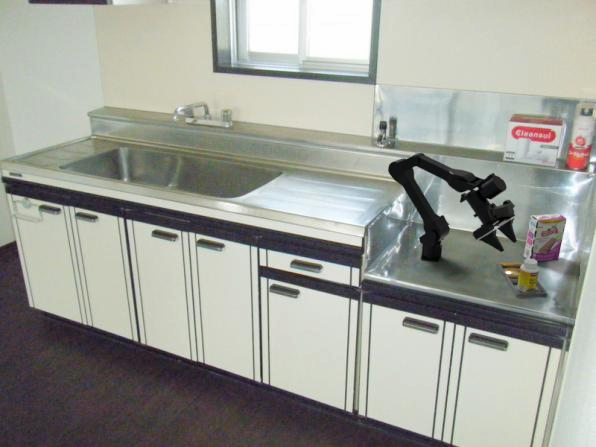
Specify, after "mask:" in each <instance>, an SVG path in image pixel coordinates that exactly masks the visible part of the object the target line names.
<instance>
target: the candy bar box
mask: <svg viewBox="0 0 596 447" xmlns="http://www.w3.org/2000/svg"><path fill="white" fill-rule="evenodd" d="M529 217H530V218H529V223H528V229H527V235H526V240H525V241H526V242H525V246H524V250H523V251H524V252H523V258H524V260H525V259H534V260H536V261H537V262H538V263H542V262H551V261H553V262H554V261H559V257H560V252H561V247H562V243H563V238H564V233H565V229H566V225H567V218H566V217H565V216H564V215H561V213H552V214H551V213H549V214H548V213H547V214H537V215H535V214H532V215H530V216H529Z"/></svg>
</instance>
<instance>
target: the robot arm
mask: <svg viewBox="0 0 596 447" xmlns="http://www.w3.org/2000/svg"><path fill="white" fill-rule="evenodd" d="M415 167H417V168H419V169H421V170H423V171H425V172H427V173H429V174H431V175H433V176H435V177H437V178H439V179H441V180H443V181H444V182H446V184H447V185H448V187H450V188H451V189H453V190H454V191H455V192H457V193H460V199H459V202H460V204H461V203H464V202H465V201H466V202H467V203H468V206H470V208H471V210H472V211H473V212H474V214H473V217H474V218H478V219H479V221H480V223H481V224H480V227H478V228H477V229H475V230H474V231H472V237H473V238H474V240H475V241H477V240H479V241H480V242H484V243H485V244H487V245H489V246H491V247H492V248H493V249H496V250H497V251H499V252H500V253H503V252H504V251H505V248H504V247H503V245H502V243H501V242H500V239H499V237H498V236H497V230H499V231H500V232H501V233H502V235H504V236H505V237H506V238H507V239H508V240H509V241H511V242H512V243H513V244H515V243H517V241H518V240H517V237H516V233H515V230H514V227H513V224H514V221H515V217H516V214H515V210H514V208H515V207H516V205H515V204H514V203H513V202H512V201H511V199H505V200H504V201H502V204H500V205H496V203H494V202H492V203H491V202H490V201H489V200H494V198H496V197H498V196H499V195H500V194H502V193H504V192H505V191H506V190H507V184H506V182H505V180H504V179H502V178H501V177H500V176H499V175H496V174H495V173H494V172H493V173H490V174H488V175H487V177H486V178H481V177H479V176H476V175H475V174H474V173H473V172H470V171H468V170H464V169H458V168H457V169H456V168H452V167H450V166H448V165H447V164H444V163H442V162H440V161H438V160H435V159H433V157H432V158H431V157H430V156H428V155H426V154H425V153H422V152H418V153H415V154H413V155H412V156H410V157H407V158H405V157H402V158H399V159H397V160H396V159H395V160H394V161H392V162H390V163H389V165H388V169H387V172H388V174H389V176H391V178H392V179H393V180H394V182H396V183H397V184H399V185H401V186H402V188H403V190H404V191H405V192H406V195H407V196H408V198H409V200H410V201H411V203H412V204H413V206H414V208H415V209H416V211H417V213H418V214H419V216H420V218H421V220H422V228H423V231H424V234H422V235H420V236H419V237H418V240H419V243H420V244H421V245H422V246H421V255H420V260H423V261H424V260H425V261H432V262H440V261H441V260H440V259H441V258H442V252H443V244H442V241H443V240H444V239H445V238H446V237H448V235H449V234H450V230H451V229H450V226H449V225H450V223H449V221H447V219H446V217H445V216H444V215H443V214H442V215H439V214H437V213H436V212H435V210H434V209H433V208H432V206H431V204H430V203H429V201H428V199H427V197H426V196H425V193H424V192H423V191H422V189H421V187H420V185H419V184H418V182H417V181H416V178H415V169H414V168H415ZM476 188H477V189H476ZM468 191H469V192H468ZM495 227H497V229H495Z"/></svg>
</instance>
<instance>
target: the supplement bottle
mask: <svg viewBox="0 0 596 447" xmlns="http://www.w3.org/2000/svg"><path fill="white" fill-rule="evenodd" d="M523 263H524V264H522V265H521V267H519V269H520V273H519V279H518V283H517V290H518V291H519V292H536V289H537V286H536V284H537V280H538V277H539V272H540V268H539V266H538V263H539V262H537V261H536V260H534V259H525V258H524V260H523Z"/></svg>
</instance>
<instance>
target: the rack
mask: <svg viewBox="0 0 596 447" xmlns="http://www.w3.org/2000/svg"><path fill="white" fill-rule="evenodd" d="M495 263H496V264H495V266H496V268H497V269H498V270H499V272H500V275H502V276H501V277H503V279H504V280H505V282H506V283H507V285H508V286H509V288H510V289H511V292H512V293H513V294H514V296H515V298H519V297H521V298H522V297H526V298H527V297H528V298H533V297H535V298H537V297H538V298H539V297H540V298H548V293H547V291H546V290H545V289H544V287H543V286H542V284H541V283H540V282H539V280H538V279H537V284H536V289H537V290H539V292H536V291H534V292H522V291H519V290H518V289H516V287H515V285H514V284H518V279H519V273H520V267H521V265H522V264H524V262H497V261H496V262H495ZM504 267H505V269H504Z"/></svg>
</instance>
